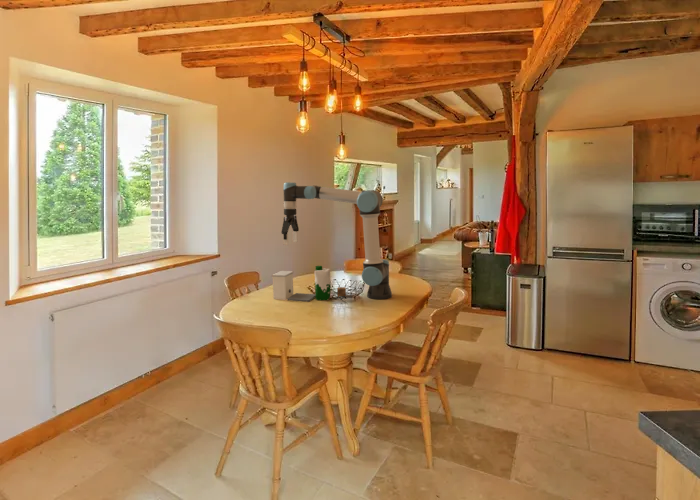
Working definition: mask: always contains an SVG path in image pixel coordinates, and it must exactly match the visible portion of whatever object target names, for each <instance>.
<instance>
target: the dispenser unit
mask: <svg viewBox="0 0 700 500" xmlns="http://www.w3.org/2000/svg"><path fill="white" fill-rule="evenodd" d="M293 274H294V271H292V270H279V271H278V272H276V273H273V274H271V277H272V292H273V294H272V295H273V296H272V297H273V300H281V301H282V300H284V301H285V300H287V299H288V298H289V297H291V296H292V295H294V294H295V293H294V275H293Z"/></svg>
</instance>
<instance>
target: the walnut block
mask: <svg viewBox="0 0 700 500" xmlns="http://www.w3.org/2000/svg"><path fill="white" fill-rule="evenodd" d="M336 295H337V298H340V297H339V296H346V297H347V288H346V287H344V286H340V287H339V286H338V287H337V294H336Z"/></svg>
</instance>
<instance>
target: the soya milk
mask: <svg viewBox="0 0 700 500" xmlns="http://www.w3.org/2000/svg"><path fill="white" fill-rule="evenodd" d="M331 288H332V286H331V268H323V266H322V265H316V266H315V270H314V291H315V292H314V294H316V297H315V300H316V301H328V300H329V299H330V298H331V293H332V292H331V290H332V289H331Z"/></svg>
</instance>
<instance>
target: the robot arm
mask: <svg viewBox="0 0 700 500" xmlns="http://www.w3.org/2000/svg"><path fill="white" fill-rule="evenodd" d="M298 199H302V200H304V199H305V200H313V199H318V200H326V201H332V202H333V201H334V202H340V203H347V204H348V203H349V204H352V205H353V204H354V205H356V206H357V208H358V210H359V216H360V217H361V218H362V229H363V230H362V231H363V243H364V244H363V245H364V256H365V257H364V258H365V259H364V260H363V262H362V267H363V270H362V273H361V278H362V281H363V283H364V284H366V285H368V290H367V292H366V296H367V298H369V299H373V300H388V299H391V298H392V296H393V293H392V292H393V291H392V289H391V287H390V263H389V262H390V261H389V260H388V259H382V258H381V252H380V251H381V247H380V235H379V234H380V233H379V221H378V219H379V218H378V217H379V215H381V206H382V204H383V201H384V198H383V196H382V194H381V193H380V192H379V191H377V190H374V189H372V190H369V189H368V190H366V189H365V190H363V189H362V190H361V191H358V190H357V191H356V190H350V189H341V188H334V187H326V186H320V185H297V183H296V182H290V181H289V182H284V183H283V208H284V209H283V215H284V216H283V222H282V228H281V235H283V238H282V239H283V246H289V229H290V225H291V228H292V242H293V243H297V242H298V232H299V224H298V219H297V217H298V216H297V200H298Z"/></svg>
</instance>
